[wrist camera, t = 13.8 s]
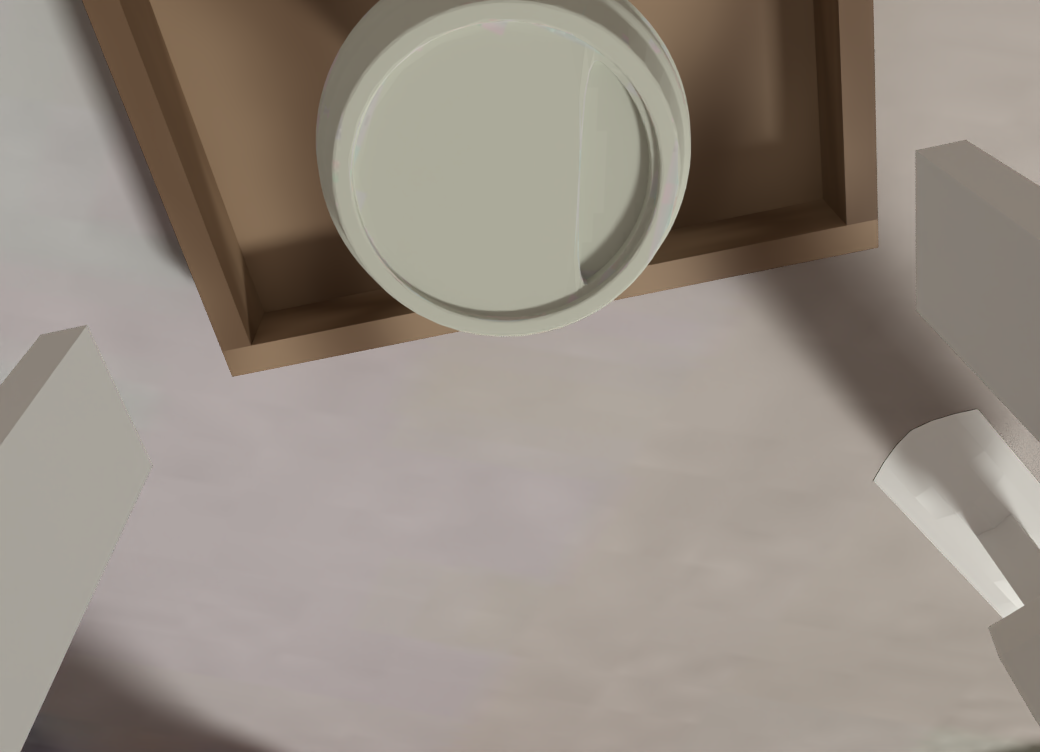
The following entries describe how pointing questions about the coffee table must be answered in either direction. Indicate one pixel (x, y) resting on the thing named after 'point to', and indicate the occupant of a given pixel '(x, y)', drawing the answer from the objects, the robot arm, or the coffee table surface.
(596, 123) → the coffee cup
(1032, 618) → the heart sculpture
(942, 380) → the coffee table surface
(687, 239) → the walnut tray
